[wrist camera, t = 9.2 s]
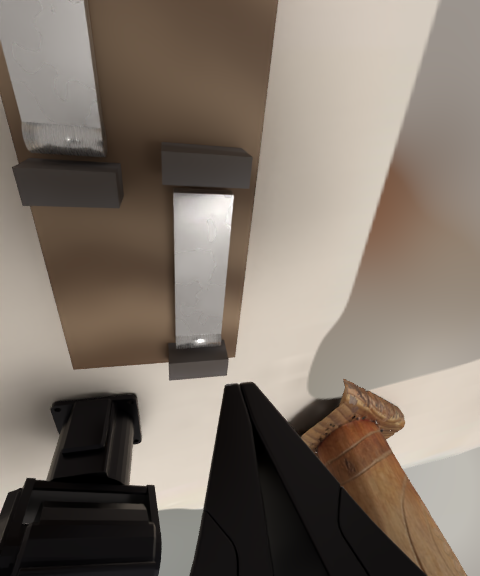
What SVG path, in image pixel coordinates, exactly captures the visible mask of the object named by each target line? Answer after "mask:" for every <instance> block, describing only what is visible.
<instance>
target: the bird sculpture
mask: <svg viewBox="0 0 480 576" xmlns="http://www.w3.org/2000/svg"><path fill="white" fill-rule="evenodd" d="M343 380H344V384H345V390H344V393H343V396H342V399H341V402H340V404H339V407H337V408H336V409H335V410H334V411H332V413H330V414H329V415H327V416H326V417H325V418H324V419H323V420H322V421H320V422H318V423H317V424H316V425H315V426H313V427H312V428H310V429H309V430H308V431H307V432H306V433H304V434H303V435H302V436H303V437H302V436H301V438H302V440H303V441H304V442H305V443H306V444H307V445H308V447H309V448H310V449H311V450H312V451H313V452H315V451H317V452H318V453H314V454H315V455H316V456H317V457H318V458H319V459H320V461H321V462H322V463H323V464H324V465H325V466H326V468H327V469H328V470H329V471H330V472H331V474H332V475H333V476H334V477H335V478H336V479H337V481H338V482H339V483H340V487H341V486H342V487H344V489H345V490H346V491H347V492H348V493H349V495H350V496H351V497H352V498H353V499H354V500H355V502H356V503H357V504H358V505H359V506H360V507H361V508H362V509H363V511H364V512H365V513H366V514H367V515H368V516H369V517H370V518H371V519H372V521H373V522H374V523H375V524H376V525H377V526H378V527H379V528H380V529H381V530H382V531H383V532H384V533H385V534H386V535H387V536H388V537H389V538H390V539H391V540H392V541H393V542H394V543H395V544H396V545H397V546H398V547H399V548H400V549H401V550H402V551H403V552H404V553H405V554H406V555H407V556H408V557H409V558H410V559H411V560H412V561H413V562H414V563H415V564H416V565H417V566H418V567H419V568H420V569H421V570H422V571H423V572H424V573H425V574H426V575H427V576H467V575H466V573H465V571H464V570H463V568H462V566H461V565H460V563H459V561H458V559H457V557H456V556H455V554H454V553H453V551H452V549H451V547H450V546H449V544H448V543H447V541H446V539H445V538H444V536H443V534H442V533H441V531H440V529H439V528H438V526H437V525H436V523H435V522H434V520H433V518H432V517H431V515H430V513H429V511H428V509H427V508H426V506H425V504H424V503H423V501H422V500H421V498H420V496H419V495H418V493H417V492H416V490H415V489H414V487H413V486H412V484H411V482H410V480H409V479H408V477H407V476H406V474H405V472H404V471H403V469H402V468H401V466H400V464H399V462H398V461H397V459H396V457H395V455H394V454H393V452H392V450H391V448H390V447H389V445H388V443H387V441H386V439H387V438H389V437H391V436H392V435H394V433H395V432H398V431H399V430H400V429H402V428H403V427H404V425H405V420H404V415H403V413H402V412H401V410H400V409H399V408H398V407H396V406H393V404H390V403H389V402H388V401H386V400H383V398H381V397H380V398H379V396H377V395H376V394H374V395H373V394H372V393H371V392H370V391H368V392H366V391H365V389H364V388H361V387H358V386H356V385H355V384H354V383H352V382H349V381H347V380H346V379H343ZM355 415H356V417H355V418H354V419H351V418H352V417H354V416H355ZM351 416H352V417H351ZM363 417H365V418H364V419H362V418H363ZM350 420H352V421H350ZM375 420H376V421H377V423H378V424H376V421H375ZM372 421H374V422H372ZM327 423H328V424H327ZM330 424H333V425H335V427H332V426H333V425H332V426H330ZM340 425H341V426H340ZM326 429H328V430H326ZM329 429H330V430H329ZM325 430H326V431H325ZM390 430H391V431H390ZM326 433H327V434H326ZM322 434H323V435H322ZM325 434H326V435H325ZM319 436H320V438H321V437H322V439H321V440H322V442H320V441H321V440H318V439H320V438H319ZM313 443H314V445H313ZM310 444H312V445H310ZM316 447H317V449H314V448H316Z"/></svg>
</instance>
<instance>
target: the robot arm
mask: <svg viewBox="0 0 480 576" xmlns="http://www.w3.org/2000/svg"><path fill="white" fill-rule="evenodd" d="M51 413H52V416H53V419H54V421H55V424H56V427H57V430H58V433H59V439H58V443H57V446H56V449H55V453H54V456H53V459H52V463H51V466H50V469H49V473H48V476H47V480H46V481H44V480H36V478H27V479H26V481H25V484H24V486H23V488H19V489H17V490H14V491H12V492H9V493H8V495H7V497H6V500H5V503H4V505H3V508H2V511H1V513H0V576H158V574H159V568H160V562H161V532H160V525H159V517H158V509H157V501H156V494H155V486H154V485H147V486H135V485H129V482H130V471H131V460H132V448H133V444H139V443H140V442H141V440H142V434H141V426H140V418H139V409H138V401H137V397H136V396H135V395H121V396H111V397H101V398H90V399H80V400H70V401H59V402H55V403H53V404H52V407H51ZM190 576H427V575H426V574H425V573H424V572H423V571H422V570H421V569H420V568H419V567H418V566H417V565H416V564H415V563H414V562H413V561H412V560H411V559H410V558H409V557H408V556H407V555H406V554H405V553H404V552H403V551H402V550H401V549H400V548H399V547H398V546H397V545H396V544H395V543H394V542H393V541H392V540H391V539H390V538H389V537H388V536H387V535H386V534H385V533H384V532H383V531H382V530H381V529H380V528H379V527H378V526H377V525H376V524H375V523H374V522H373V521H372V519H371V518H370V517H369V516H368V515H367V514H366V513H365V512H364V511H363V509H362V508H361V507H360V506H359V505H358V504H357V503H356V502H355V500H354V499H353V498H352V497H351V496H350V495H349V493H348V492H347V491H346V490H345V489H344V487H342V486H341V487H340V483H339V482H338V481H337V479H336V478H335V477H334V476H333V475H332V474H331V472H330V471H329V470H328V469H327V468H326V466H325V465H324V464H323V463H322V462H321V461H320V459H319V458H318V457H317V456H316V455H315V454H314V452H313V451H312V450H311V449H310V448H309V447H308V445H307V444H306V443H305V442H304V441H303V440H302V438H301V437H300V436H299V435H298V434H297V432H296V431H295V430H294V429H293V428H292V427H291V425H290V424H289V423H288V422H287V421H286V420H285V418H284V417H283V416H282V415H281V414H280V413H279V411H278V410H277V409H276V408H275V407H274V405H273V404H272V403H271V402H270V401H269V400H268V398H267V397H266V396H265V395H264V394H263V393H262V391H261V390H260V389H259V388H258V387H257V386H256V384H255V383H253V382H246V383H240V384H237V383H235V384H226V385H225V388H224V393H223V399H222V405H221V411H220V416H219V422H218V428H217V434H216V440H215V445H214V451H213V457H212V463H211V468H210V474H209V480H208V486H207V492H206V497H205V503H204V510H203V514H202V520H201V526H200V531H199V536H198V541H197V546H196V551H195V556H194V561H193V564H192V568H191V573H190Z"/></svg>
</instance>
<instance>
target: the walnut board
mask: <svg viewBox="0 0 480 576" xmlns="http://www.w3.org/2000/svg"><path fill="white" fill-rule="evenodd" d="M277 6H278V0H88V7H89V15H90V23H91V31H92V38H93V46H94V54H95V61H96V69H97V77H98V85H99V92H100V100H101V108H102V116H103V123H104V127H105V131H106V138H107V157H92V156H76V155H59V154H43V153H31V152H30V151H29V150H28V149H27V147H26V145H25V142H24V139H23V135H22V120H21V117H20V113H19V109H18V105H17V101H16V98H15V94H14V90H13V86H12V82H11V79H10V75H9V71H8V67H7V63H6V60H5V56H4V52H3V48H2V44H1V41H0V94H1V98H2V102H3V106H4V109H5V113H6V117H7V121H8V125H9V128H10V132H11V136H12V140H13V143H14V147H15V151H16V155H17V158H18V162H19V164H18V165H16V166H14V167H12V169H13V172H14V176H15V180H16V183H17V187H18V190H19V194H20V198H21V201H22V205H23V206H30V207H31V211H32V215H33V219H34V223H35V226H36V230H37V234H38V238H39V241H40V245H41V249H42V253H43V256H44V260H45V264H46V268H47V272H48V275H49V279H50V283H51V287H52V290H53V294H54V298H55V302H56V305H57V309H58V313H59V317H60V321H61V324H62V328H63V332H64V336H65V339H66V343H67V347H68V351H69V354H70V358H71V362H72V366H73V370H74V369H87V368H101V367H114V366H127V365H140V364H153V363H166V362H169V380H180V379H192V378H203V377H214V376H225V375H227V369H228V358H231V357H235V353H236V344H237V336H238V328H239V320H240V311H241V303H242V295H243V287H244V278H245V270H246V262H247V254H248V245H249V237H250V229H251V220H252V212H253V204H254V196H255V187H256V179H257V171H258V163H259V154H260V146H261V138H262V130H263V121H264V113H265V105H266V97H267V88H268V80H269V72H270V64H271V55H272V47H273V39H274V31H275V22H276V14H277ZM173 188H190V189H213V190H231V191H232V193H233V194H234V200H233V211H232V222H231V233H230V244H229V254H228V265H227V276H226V287H225V298H224V308H223V319H222V330H221V346H213V347H199V348H184V349H176V334H175V269H174V209H173Z"/></svg>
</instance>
